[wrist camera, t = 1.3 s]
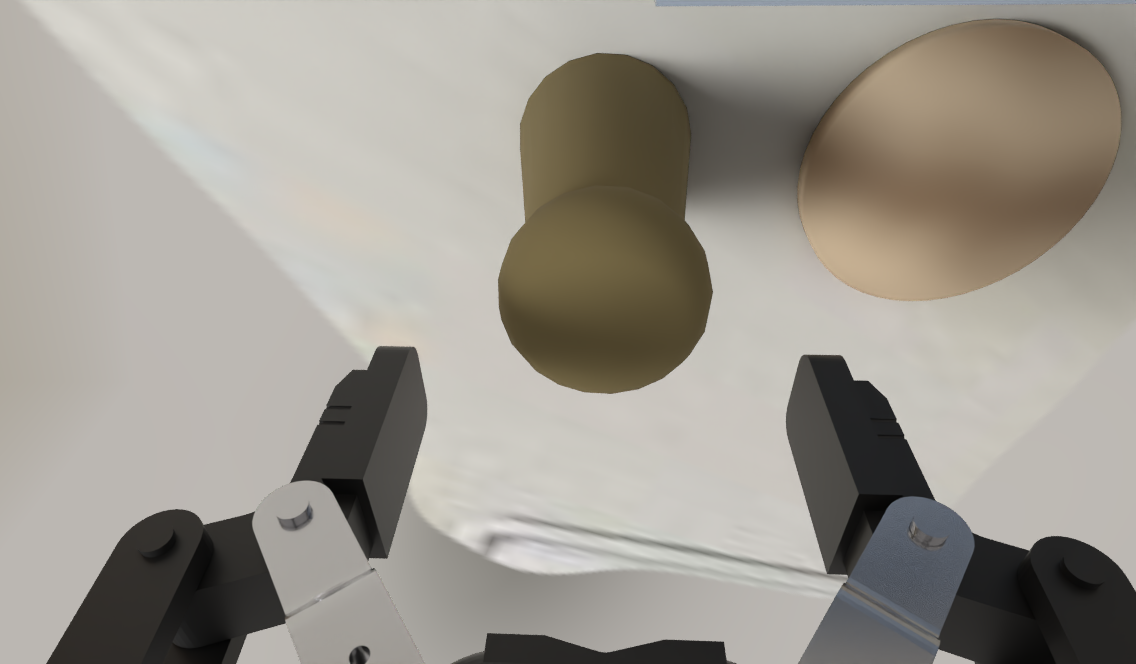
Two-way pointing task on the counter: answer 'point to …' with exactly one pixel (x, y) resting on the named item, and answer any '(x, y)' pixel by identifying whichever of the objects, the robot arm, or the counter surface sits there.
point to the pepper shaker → (605, 230)
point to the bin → (875, 2)
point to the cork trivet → (958, 159)
